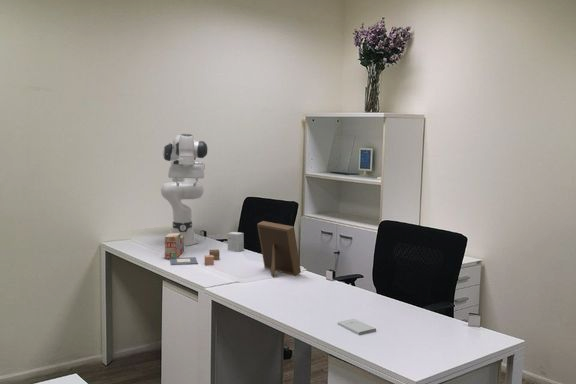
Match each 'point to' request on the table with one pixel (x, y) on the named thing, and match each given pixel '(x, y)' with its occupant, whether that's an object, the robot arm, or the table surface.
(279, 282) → the table surface
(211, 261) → the terracotta block
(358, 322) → the external hard drive
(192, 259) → the grey flat square plate
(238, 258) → the table surface
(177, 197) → the robot arm
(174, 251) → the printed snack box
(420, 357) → the table surface
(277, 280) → the table surface
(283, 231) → the photo frame
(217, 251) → the walnut block
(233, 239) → the small box
